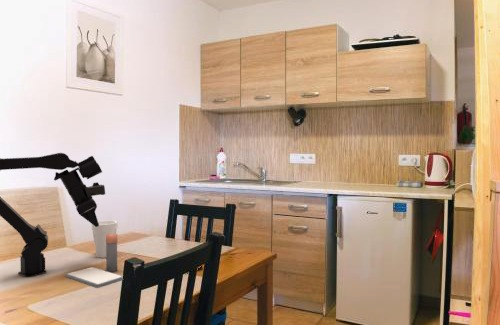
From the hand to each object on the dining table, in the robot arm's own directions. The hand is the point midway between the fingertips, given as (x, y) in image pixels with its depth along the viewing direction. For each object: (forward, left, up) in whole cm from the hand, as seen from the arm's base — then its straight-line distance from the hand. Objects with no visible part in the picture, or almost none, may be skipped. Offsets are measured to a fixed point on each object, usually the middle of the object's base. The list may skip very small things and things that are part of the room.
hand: (96, 223), depth 143 cm
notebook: (-8, -11, -15) cm, 20 cm away
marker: (0, -9, -15) cm, 18 cm away
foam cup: (+10, +10, -15) cm, 21 cm away
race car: (+14, -30, -16) cm, 37 cm away
